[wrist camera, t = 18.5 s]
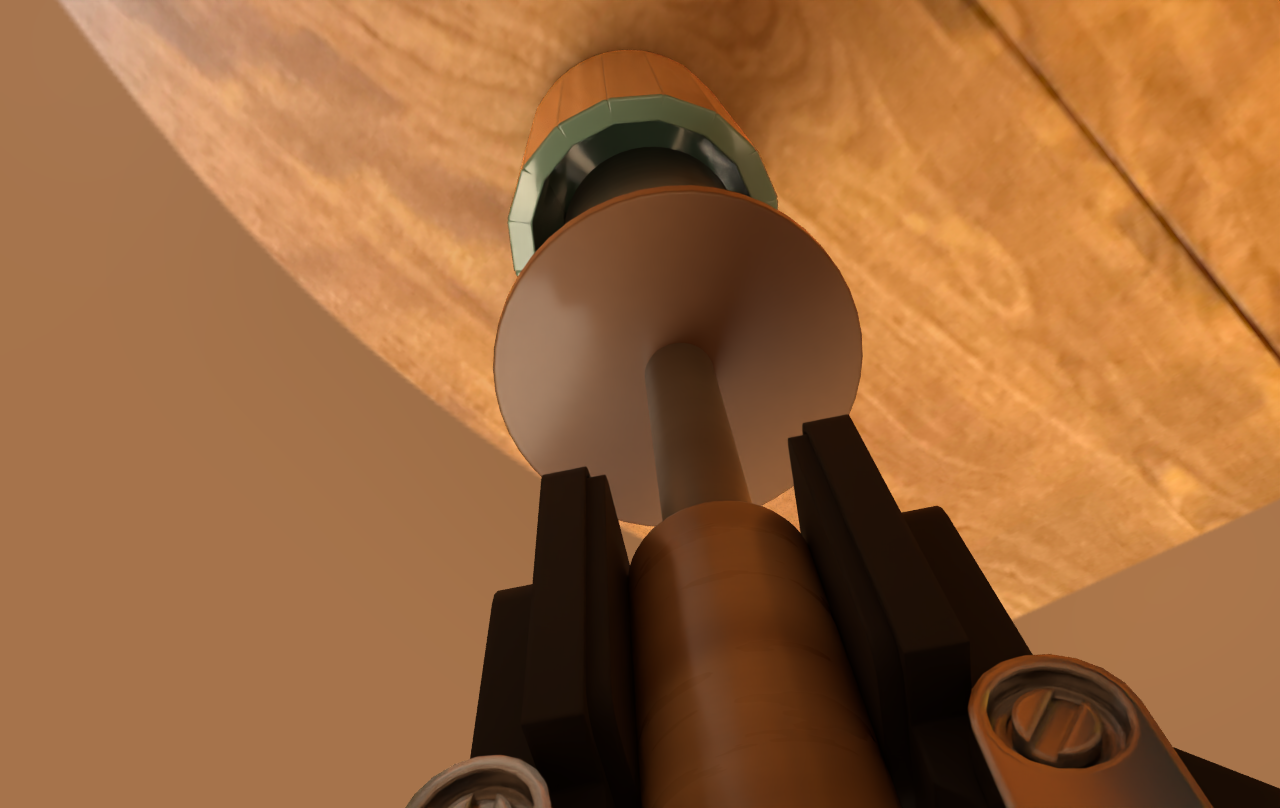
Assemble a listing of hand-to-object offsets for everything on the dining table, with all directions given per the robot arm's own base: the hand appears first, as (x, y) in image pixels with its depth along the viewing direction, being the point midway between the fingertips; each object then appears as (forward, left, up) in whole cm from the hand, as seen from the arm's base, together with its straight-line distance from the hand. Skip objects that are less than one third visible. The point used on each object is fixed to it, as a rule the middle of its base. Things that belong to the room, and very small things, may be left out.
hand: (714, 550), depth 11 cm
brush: (0, 0, -14) cm, 14 cm away
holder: (0, 0, -22) cm, 22 cm away
